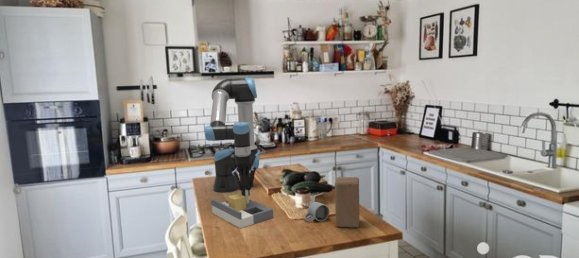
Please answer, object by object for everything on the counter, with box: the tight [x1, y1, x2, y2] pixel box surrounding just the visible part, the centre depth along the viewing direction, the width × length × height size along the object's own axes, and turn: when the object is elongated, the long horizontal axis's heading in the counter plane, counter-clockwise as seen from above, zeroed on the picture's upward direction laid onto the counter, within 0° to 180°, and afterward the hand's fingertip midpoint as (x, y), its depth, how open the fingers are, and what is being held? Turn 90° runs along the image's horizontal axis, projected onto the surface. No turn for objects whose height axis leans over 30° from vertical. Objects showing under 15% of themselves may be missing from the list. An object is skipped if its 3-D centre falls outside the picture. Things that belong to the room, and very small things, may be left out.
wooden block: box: [334, 176, 360, 228], centre depth 168 cm, size 10×10×20 cm
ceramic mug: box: [303, 201, 330, 223], centre depth 175 cm, size 11×8×8 cm
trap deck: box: [211, 198, 274, 229], centre depth 184 cm, size 18×26×7 cm
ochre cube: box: [227, 193, 246, 211], centre depth 181 cm, size 6×6×6 cm
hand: (246, 202), depth 185 cm, fingers closed
